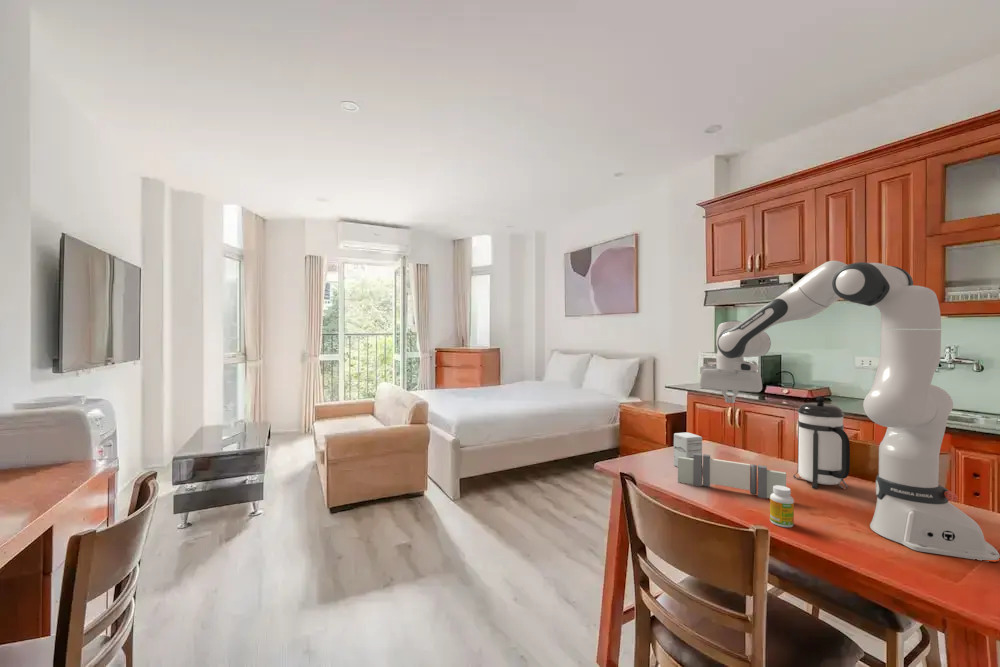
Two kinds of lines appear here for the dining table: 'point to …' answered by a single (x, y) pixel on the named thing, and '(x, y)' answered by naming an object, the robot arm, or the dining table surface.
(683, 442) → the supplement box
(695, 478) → the fence
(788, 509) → the supplement bottle
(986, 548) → the robot arm
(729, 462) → the gate
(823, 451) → the coffee press
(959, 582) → the dining table surface
